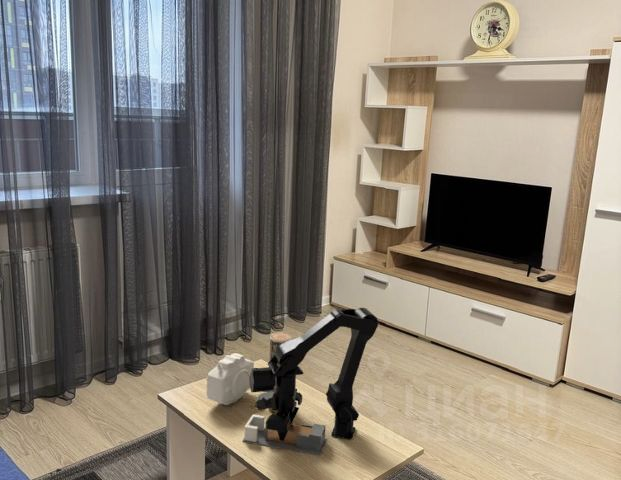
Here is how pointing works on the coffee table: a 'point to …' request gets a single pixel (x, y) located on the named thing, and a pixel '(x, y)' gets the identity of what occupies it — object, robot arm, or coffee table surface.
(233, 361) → the camera
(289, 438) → the tan wooden block
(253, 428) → the socket
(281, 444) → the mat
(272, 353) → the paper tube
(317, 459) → the coffee table surface
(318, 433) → the sleeve
